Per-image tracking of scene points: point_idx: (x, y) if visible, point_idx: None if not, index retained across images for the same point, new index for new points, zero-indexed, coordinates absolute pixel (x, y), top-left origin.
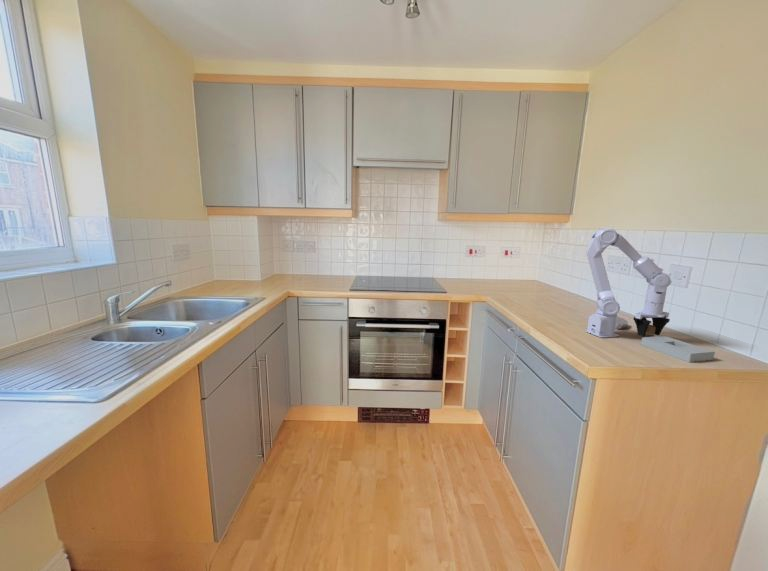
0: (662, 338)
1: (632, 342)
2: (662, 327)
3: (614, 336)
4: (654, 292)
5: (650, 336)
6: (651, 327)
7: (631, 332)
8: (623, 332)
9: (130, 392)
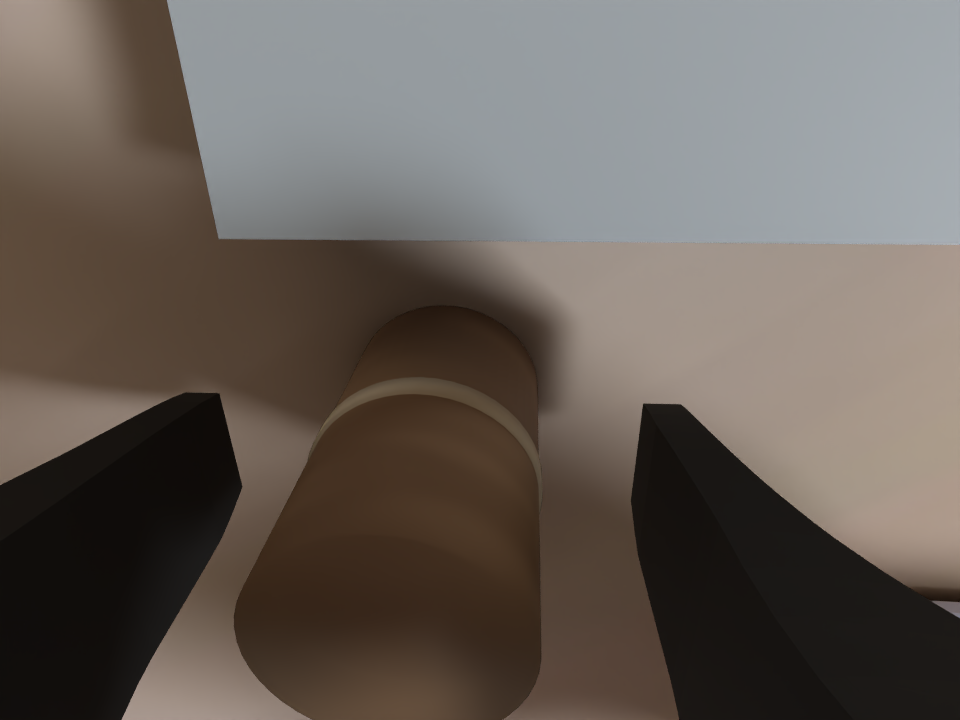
0: (540, 36)
1: (942, 343)
2: (16, 502)
3: (937, 603)
4: None
5: (484, 373)
6: (478, 552)
7: None
8: None
9: None
